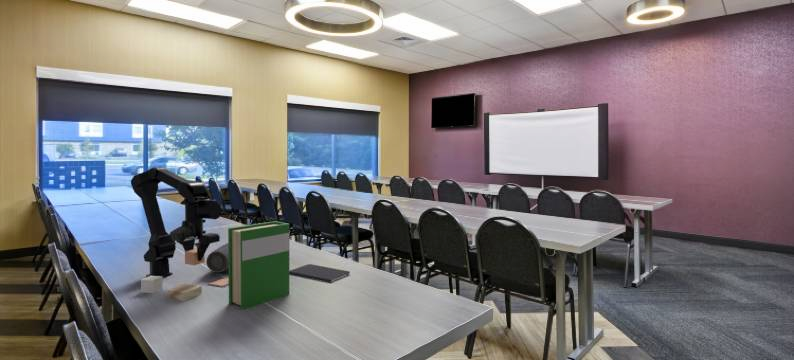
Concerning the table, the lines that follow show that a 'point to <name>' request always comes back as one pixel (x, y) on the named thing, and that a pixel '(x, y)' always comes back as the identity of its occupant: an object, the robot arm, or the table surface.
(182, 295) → the maple base block
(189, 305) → the table surface
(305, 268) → the notebook
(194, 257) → the terracotta cube
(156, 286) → the offwhite cube
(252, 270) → the hardback book
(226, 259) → the bluetooth speaker
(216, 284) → the tile
